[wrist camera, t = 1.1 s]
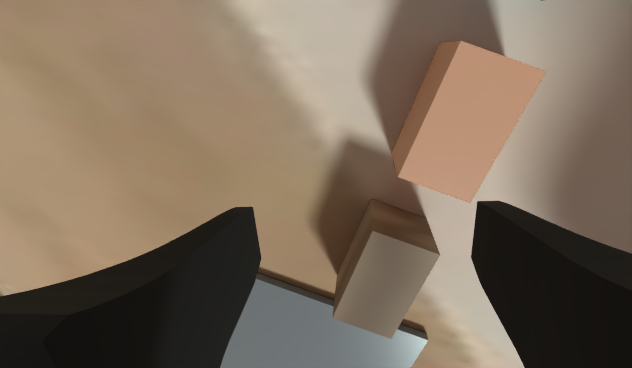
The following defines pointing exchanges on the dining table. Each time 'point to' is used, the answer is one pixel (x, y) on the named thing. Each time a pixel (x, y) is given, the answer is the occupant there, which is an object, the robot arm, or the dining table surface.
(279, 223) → the dining table surface
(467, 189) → the terracotta brick
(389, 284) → the walnut brick
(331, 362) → the grey flat square slab
